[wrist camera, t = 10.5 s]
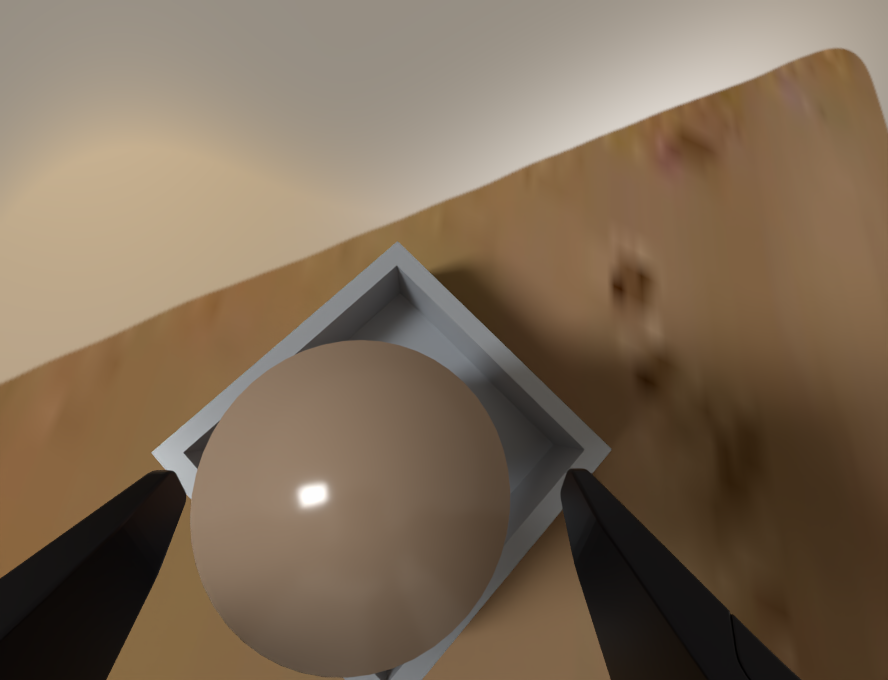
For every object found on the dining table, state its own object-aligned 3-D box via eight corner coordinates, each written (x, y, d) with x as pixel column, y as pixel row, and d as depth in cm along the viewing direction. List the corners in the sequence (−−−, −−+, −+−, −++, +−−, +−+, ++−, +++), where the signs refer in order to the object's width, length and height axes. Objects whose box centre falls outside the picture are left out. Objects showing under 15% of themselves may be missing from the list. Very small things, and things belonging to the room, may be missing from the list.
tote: (567, 443, 19) (611, 449, 15) (392, 646, 17) (384, 725, 12) (401, 279, 21) (397, 241, 16) (215, 445, 18) (151, 452, 14)
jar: (469, 425, 18) (561, 432, 7) (415, 525, 17) (410, 750, 5) (379, 372, 19) (311, 289, 7) (320, 467, 17) (117, 563, 6)
